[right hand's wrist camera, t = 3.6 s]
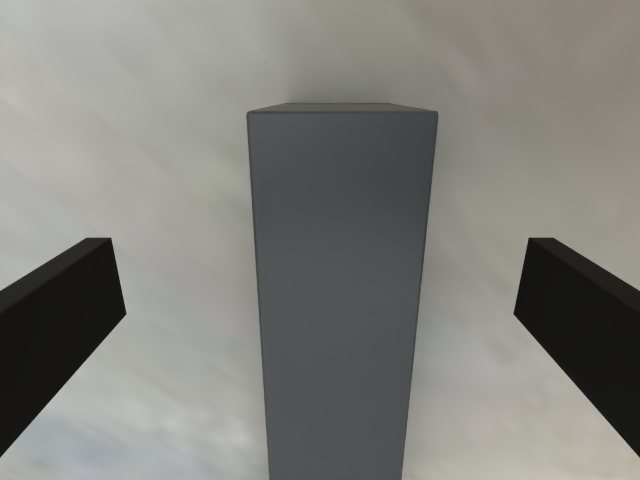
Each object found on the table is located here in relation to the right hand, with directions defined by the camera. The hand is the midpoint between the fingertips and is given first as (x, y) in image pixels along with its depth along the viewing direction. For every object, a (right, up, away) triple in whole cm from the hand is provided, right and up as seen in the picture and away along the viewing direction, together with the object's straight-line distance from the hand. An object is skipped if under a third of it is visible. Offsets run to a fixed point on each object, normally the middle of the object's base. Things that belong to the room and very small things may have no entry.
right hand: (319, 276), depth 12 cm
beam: (+1, -16, +15) cm, 22 cm away
